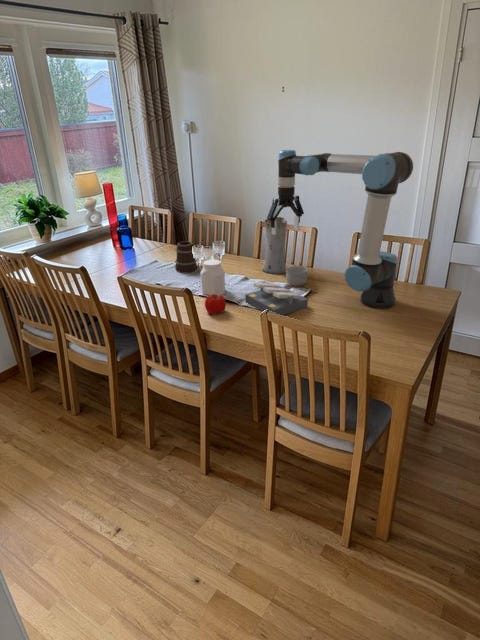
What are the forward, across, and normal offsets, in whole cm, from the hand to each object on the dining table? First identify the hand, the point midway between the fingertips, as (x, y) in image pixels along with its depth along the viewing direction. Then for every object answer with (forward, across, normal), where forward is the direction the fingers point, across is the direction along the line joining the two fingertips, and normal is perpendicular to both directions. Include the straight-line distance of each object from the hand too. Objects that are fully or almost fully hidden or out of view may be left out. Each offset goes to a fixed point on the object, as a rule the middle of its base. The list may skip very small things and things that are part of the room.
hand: (285, 232), depth 210 cm
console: (+27, +19, +18) cm, 37 cm away
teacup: (+27, -6, +3) cm, 28 cm away
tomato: (+27, +45, +9) cm, 53 cm away
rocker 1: (+20, +19, +11) cm, 30 cm away
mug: (+26, +28, -50) cm, 63 cm away
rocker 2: (+20, +19, +18) cm, 33 cm away
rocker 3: (+20, +19, +25) cm, 37 cm away
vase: (+27, -8, -18) cm, 33 cm away
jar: (+27, +34, -12) cm, 45 cm away
